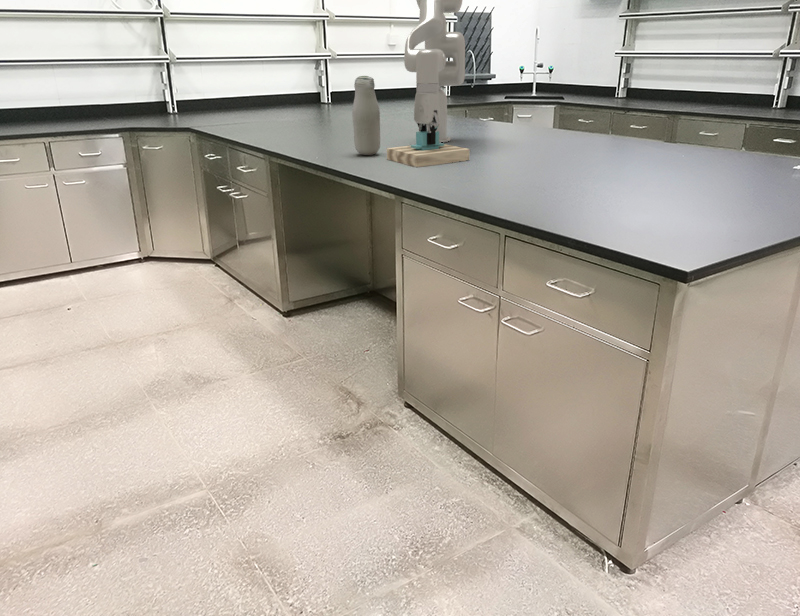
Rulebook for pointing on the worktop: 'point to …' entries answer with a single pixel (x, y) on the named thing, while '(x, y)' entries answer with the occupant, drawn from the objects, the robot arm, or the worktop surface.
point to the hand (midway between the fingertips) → (427, 143)
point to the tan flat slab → (427, 155)
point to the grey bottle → (366, 117)
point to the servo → (422, 141)
